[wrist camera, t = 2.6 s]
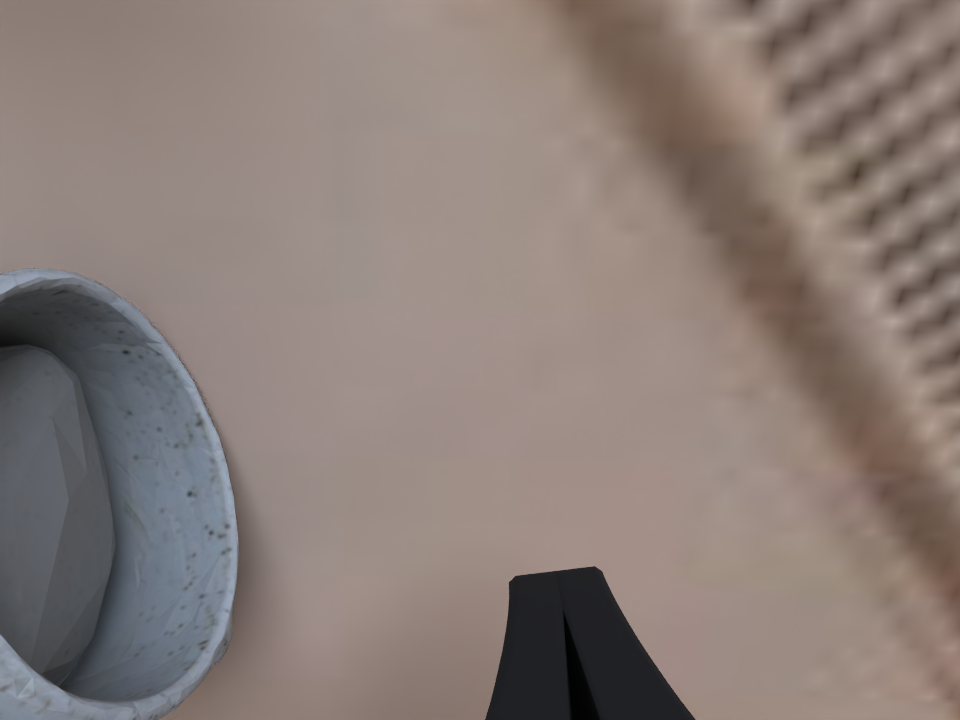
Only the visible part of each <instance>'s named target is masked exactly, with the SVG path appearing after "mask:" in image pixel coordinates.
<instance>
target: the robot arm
mask: <svg viewBox="0 0 960 720" xmlns="http://www.w3.org/2000/svg"><path fill="white" fill-rule="evenodd" d="M485 720H695V718H694V717H693V716H692V715H691V713H690V712H689V711H688V709H687V708H686V707H685V706H684V704H683V703H682V702H681V700H680V699H679V698H678V696H677V695H676V693H675V692H674V691H673V689H672V688H671V687H670V685H669V684H668V683H667V681H666V680H665V678H664V677H663V675H662V674H661V672H660V671H659V669H658V668H657V667H656V665H655V664H654V662H653V661H652V659H651V658H650V656H649V655H648V653H647V652H646V650H645V649H644V647H643V646H642V644H641V643H640V641H639V640H638V638H637V636H636V635H635V633H634V631H633V630H632V628H631V626H630V625H629V623H628V621H627V620H626V618H625V616H624V615H623V613H622V611H621V609H620V608H619V606H618V604H617V602H616V600H615V598H614V596H613V594H612V592H611V590H610V588H609V586H608V584H607V582H606V580H605V577H604V575H603V572H602V571H601V570H599V569H598V568H596V567H595V566H594V567H586V568H578V569H569V570H561V571H553V572H545V573H536V574H528V575H520V576H515V577H514V578H513V579H512V580H511V581H510V582H509V610H508V620H507V627H506V633H505V639H504V645H503V651H502V656H501V660H500V664H499V669H498V673H497V678H496V682H495V686H494V691H493V695H492V699H491V702H490V706H489V709H488V712H487V716H486V719H485Z"/></svg>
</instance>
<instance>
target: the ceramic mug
mask: <svg viewBox="0 0 960 720" xmlns="http://www.w3.org/2000/svg"><path fill="white" fill-rule="evenodd" d="M238 560H239V544H238V525H237V519H236V514H235V506H234V493H233V489H232V486H231V482H230V479H229V472H228V467H227V463H226V458H225V454H224V451H223V448H222V445H221V442H220V439H219V436H218V434H217V431H216V429H215V427H214V424H213V422H212V419H211V417H210V415H209V412H208V410H207V408H206V406H205V404H204V402H203V400H202V398H201V396H200V394H199V392H198V390H197V388H196V386H195V384H194V382H193V380H192V378H191V377H190V375H189V374H188V372H187V370H186V369H185V367H184V366H183V364H182V362H181V361H180V359H179V358H178V356H177V354H176V353H175V351H174V350H173V349H172V348H171V347H170V346H169V345H168V344H167V342H166V341H165V339H164V337H163V336H162V335H161V333H160V332H159V331H158V330H157V329H156V328H155V327H154V326H153V325H152V324H151V323H150V322H149V321H148V320H147V319H146V318H145V317H144V316H143V315H142V314H141V313H140V312H139V311H138V310H137V308H136V307H135V306H134V305H132V304H131V303H129V302H127V301H126V300H124V299H123V298H121V297H120V296H118V295H117V294H116V293H114V292H113V291H111V290H110V289H108V288H107V287H105V286H104V285H102V284H101V283H98V282H96V281H93V280H91V279H88V278H86V277H83V276H81V275H78V274H76V273H71V272H65V271H60V270H54V269H23V270H18V271H12V272H7V273H2V274H0V720H157V719H159V718H160V717H162V716H164V715H166V714H168V713H169V712H171V711H173V710H175V709H176V708H177V707H178V706H179V705H180V704H181V703H182V702H183V700H184V699H185V698H186V697H187V696H188V695H189V694H191V693H192V692H193V691H194V690H195V689H196V688H197V687H198V686H199V684H200V683H201V682H202V681H203V679H204V678H205V677H206V675H207V674H208V672H209V671H210V670H211V668H212V667H213V665H214V664H216V663H217V662H219V660H220V659H221V658H222V657H223V655H224V654H225V652H226V651H227V648H228V645H229V642H230V639H231V635H232V612H233V604H234V598H235V591H236V585H237V570H238Z"/></svg>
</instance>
